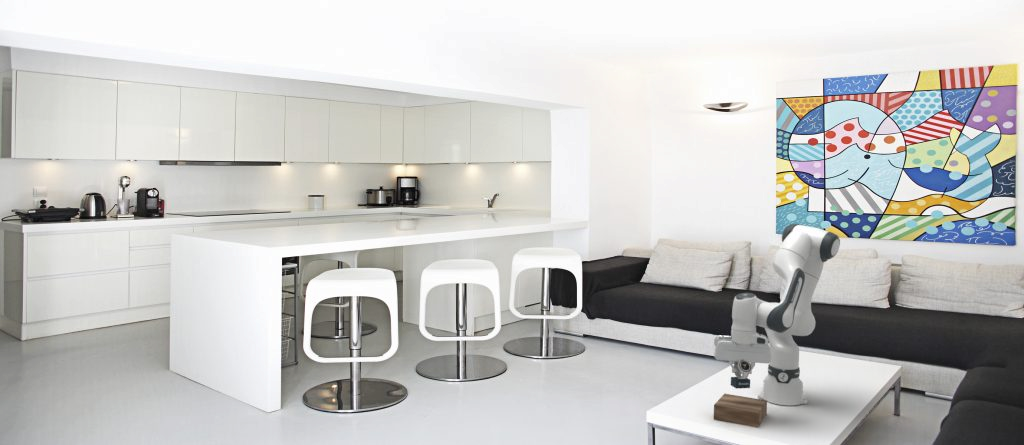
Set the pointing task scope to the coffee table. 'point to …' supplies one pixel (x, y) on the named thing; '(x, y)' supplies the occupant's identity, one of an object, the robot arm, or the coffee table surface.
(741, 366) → the watch
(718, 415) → the walnut box
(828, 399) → the coffee table surface
